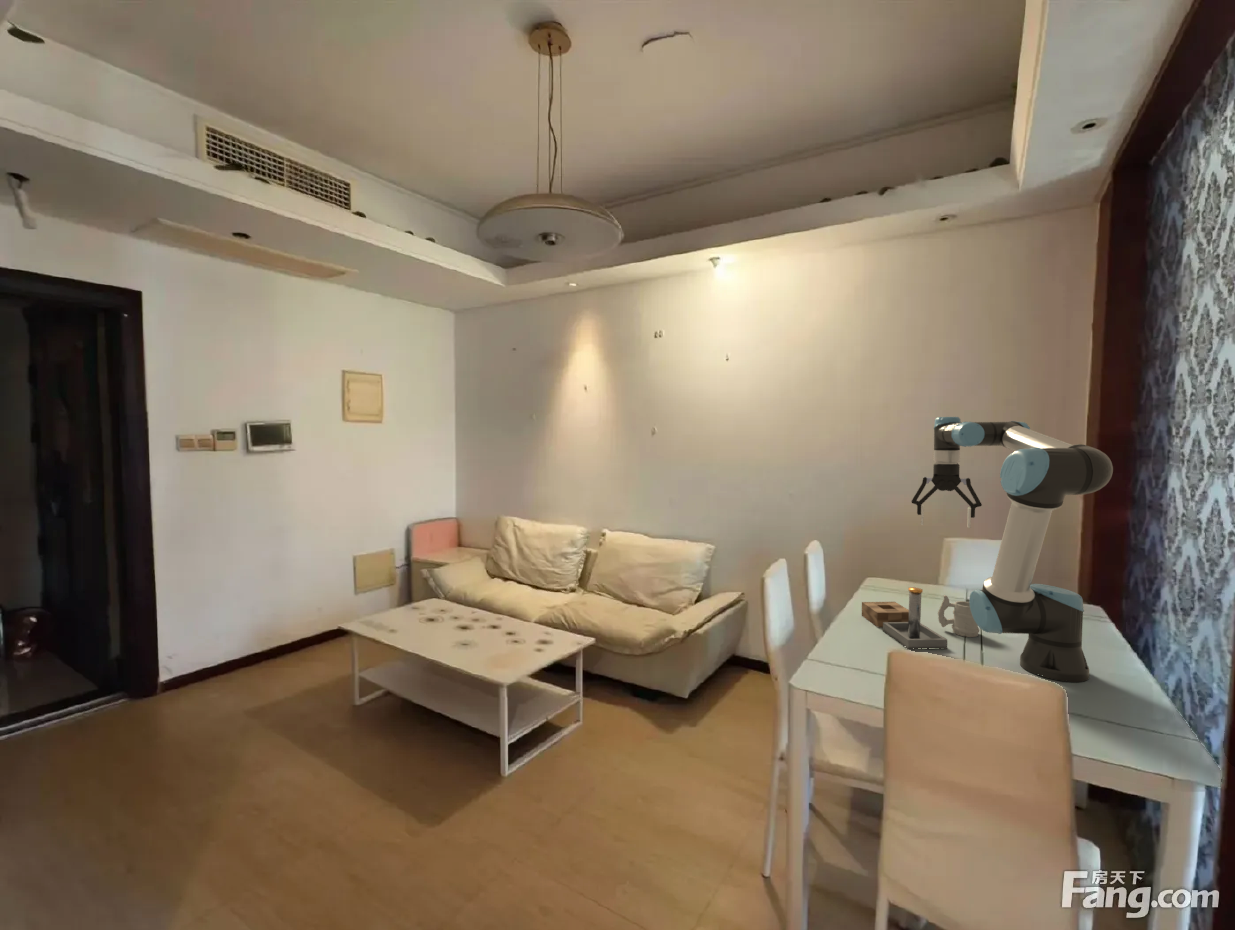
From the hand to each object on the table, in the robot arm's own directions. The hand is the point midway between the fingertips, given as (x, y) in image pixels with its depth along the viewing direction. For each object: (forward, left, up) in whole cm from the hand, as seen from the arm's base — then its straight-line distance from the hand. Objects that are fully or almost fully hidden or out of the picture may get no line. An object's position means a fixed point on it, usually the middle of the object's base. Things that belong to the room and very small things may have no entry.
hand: (945, 526), depth 187 cm
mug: (-5, -2, -35) cm, 35 cm away
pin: (-11, +16, -34) cm, 39 cm away
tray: (-11, +16, -35) cm, 40 cm away
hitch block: (+7, +16, -35) cm, 39 cm away
